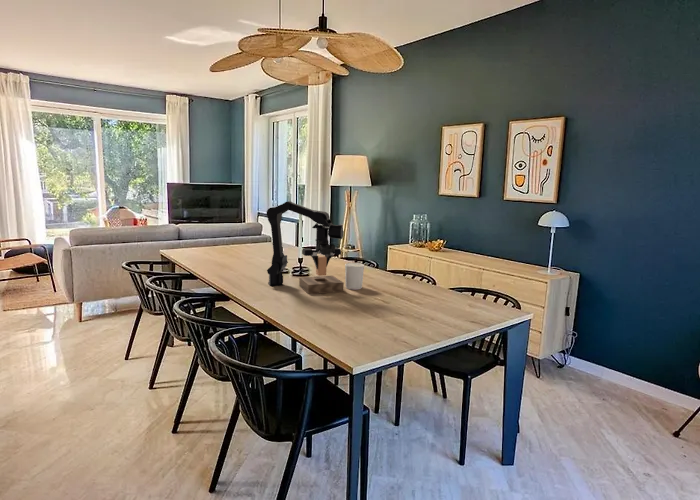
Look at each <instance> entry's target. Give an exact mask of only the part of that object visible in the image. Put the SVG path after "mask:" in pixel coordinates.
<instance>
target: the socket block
mask: <svg viewBox="0 0 700 500" xmlns="http://www.w3.org/2000/svg"><path fill="white" fill-rule="evenodd" d="M298 280H299V285H298V287H300V288H301V289H302V290H303V291H304V292H306V294H307V295H314V294H328V293H341V292H344V289H345V287H344V284H345V283H344V282H343V281H342V280H341V279H339V278H338V277H336V276H334V275H323V276H318V275H317V276H299V279H298Z"/></svg>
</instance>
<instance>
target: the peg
mask: <svg viewBox="0 0 700 500" xmlns="http://www.w3.org/2000/svg"><path fill="white" fill-rule="evenodd" d="M317 256H318V269H316V268H315V274H316V275H317V276H327V268H326V267H328V265H327V257H325V255H321V256H320V255H317Z"/></svg>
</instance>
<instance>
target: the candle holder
mask: <svg viewBox="0 0 700 500" xmlns="http://www.w3.org/2000/svg"><path fill="white" fill-rule="evenodd" d="M344 267H345V268H344V270H345V271H344V272H345V276H344V277H345V278H344V279H345V288H346V289H347V290H357V291H358V290H361V289H362V288H363V279H364V270H365V264H364V263H360V262H347V263H345V264H344Z"/></svg>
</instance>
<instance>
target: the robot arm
mask: <svg viewBox="0 0 700 500" xmlns="http://www.w3.org/2000/svg"><path fill="white" fill-rule="evenodd" d="M288 211H290V212H293V213H296V214H299V215H301V216H304V217H306V218H309V219H310V220H312V221H313V222H314V225H313V226H312V229H316V232H315V234H316V236H315V237H316V238H315V242H316V243H315V247H314V248H315V249H312V248H309V247H308V248H306V247H305V248H302V250H301V254H302V255H304V257H311V259H312V260H313V263H314V266H315V270H316V269H318V256H319V255H318V254H320V255H321V256H325V257H327V267H328V264H329V262H330V260H331V258H332V257H335V256H336V255H337V256H338V255H342V250H341V248H339V247H336V244H330V243H329V242H330V241H329V238H330V239H335V240H337V239H338V240H343V239H344V236H345V235H344V234H345V232H344V226H343V224H334V223H333V222H332V219H330V214H329V213H328V212H326V211H322V210H313V209H310V208H308V207H306V206H303V205H300V204H297V203H294V202H292V200H291V201H290V200H289V201H284V203H281V204H280V205H277V206H273V207H269V208H267V210H266V213H265V214H266V217H267V218H266V219H267V220H268V223H269V224H270V227H271V230H270V231H271V239H272V250H273V251H272V252H273V255H272V258H271V266H270V267H269V268H268V269H266V271H267V272H266V273H267V274H268V282H267V284H268V285H269V287H274V286H276V287H279V286H284V274H283V271H284V269H286V267H287V265H288V263H289V262H288V255H285V254H284V252H283V241H282V231H281V222H282V220H283V214H284V213H286V212H288ZM327 267H326V269H327Z"/></svg>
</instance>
